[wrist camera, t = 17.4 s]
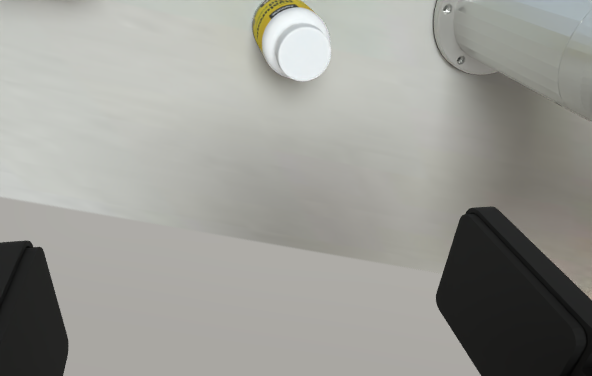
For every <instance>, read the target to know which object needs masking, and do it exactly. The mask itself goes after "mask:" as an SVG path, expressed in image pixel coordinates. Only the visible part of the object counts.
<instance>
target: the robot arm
mask: <svg viewBox="0 0 592 376" xmlns="http://www.w3.org/2000/svg"><path fill="white" fill-rule="evenodd" d="M444 7H445V9H444ZM443 9H444V10H443ZM434 34H435V39H436V42H437V46H438V48H439V50H440V51H441V53H442V55H443V56H444V58H445V59H446V60H447V61H448V62H449V63H450V64H452V65H453V66H455V67H456V68H458V69H460V70H462V71H464V72H466V73H470V74H474V75H487V74H492V73H497V72H500V73H502V74H503V75H505V76H507V77H509V78H511V79H513V80H514V81H516V82H518V83H520V84H522V85H524V86H525V87H527V88H529V89H531V90H533V91H535V92H536V93H538V94H540V95H542V96H544V97H546V98H548V99H549V100H551V101H553V102H555V103H557V104H559V105H560V106H562V107H564V108H566V109H568V110H570V111H572V112H574V113H576V114H577V115H579V116H581V117H583V118H585V119H587V120H589V121H592V0H437V4H436V8H435V13H434ZM436 302H437V306H438V308H439V310H440V312H441V313H442V315H443V316H444V318H445V319H446V321H447V322H448V324H449V326H450V327H451V329H452V331H453V332H454V334H455V335H456V337H457V338H458V340H459V341H460V343H461V344H462V346H463V348H464V349H465V351H466V352H467V354H468V356H469V357H470V359H471V360H472V362H473V363H474V365H475V367H476V368H477V370H478V371H479V373H480V374H481V376H592V300H591V299H590V298H589V297H588V296H587V295H586V294H585V293H583V292H582V291H581V290H580V289H579V288H578V287H577V286H576V285H575V284H574V283H573V282H572V281H571V280H570V279H569V278H568V277H567V276H566V275H565V274H564V273H563V272H562V271H561V270H560V269H559V268H558V267H557V266H556V265H555V264H554V263H553V262H552V261H551V260H549V259H548V258H547V257H546V256H545V255H544V254H543V253H542V252H541V251H540V250H539V249H538V248H537V247H536V246H535V245H534V244H533V243H532V242H531V241H530V240H529V239H528V238H527V237H526V236H525V235H524V234H523V233H522V232H521V231H520V230H519V229H518V228H516V227H515V226H514V225H513V224H512V223H511V222H510V221H509V220H508V219H507V218H506V217H505V216H504V215H503V214H502V213H501V212H500V211H499V210H498V209H496V208H495V207H479V208H471V209H469V210H468V211H467V212H466V214H465V215H463V216H462V217H461V218H460V220H459V224H458V227H457V230H456V233H455V236H454V239H453V243H452V246H451V249H450V252H449V255H448V259H447V262H446V265H445V268H444V271H443V274H442V278H441V281H440V284H439V287H438V291H437V294H436ZM67 355H68V338H67V334H66V330H65V327H64V323H63V319H62V316H61V312H60V309H59V305H58V302H57V298H56V294H55V290H54V287H53V283H52V280H51V276H50V272H49V269H48V265H47V262H46V258H45V254H44V251H43V249H42V248H41V247H33V245H32V243H31V242H30V241H15V242H3V243H0V376H63V373H64V369H65V364H66V360H67Z"/></svg>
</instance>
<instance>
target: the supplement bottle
mask: <svg viewBox="0 0 592 376" xmlns="http://www.w3.org/2000/svg"><path fill="white" fill-rule="evenodd" d="M252 29H253V34H254V37H255V40H256V42H257V44H258V46H259V48H260V50H261V52H262V54H263V56H264V58H265V60H266V62H267V63H268V65H269V66H270V67H271V68H272V69H273V70H274V71H275V72H277V73H278V74H280V75H282V76H284V77H287V78H291V79H293V80H296V81H310V80H313V79H315V78H317V77H318V76H320V75H321V74H322V73H323V72H324V71H325V70H326V68H327V66H328V64H329V62H330V58H331V46H330V35H329V31H328V28H327V26H326V24H325V23H324V21H323V20H322V19H321V18H320V17H319V16H318V15H317V14H316V13H315V12H314V11H313V10H312V9H310V8H309V7H308V6H307V5H306V4H305V3H304V2H302V1H301V0H264V1H263V2H262V3H261V4H260V5H259V6H258V8H257V9H256V11H255V13H254V17H253V22H252Z"/></svg>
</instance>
